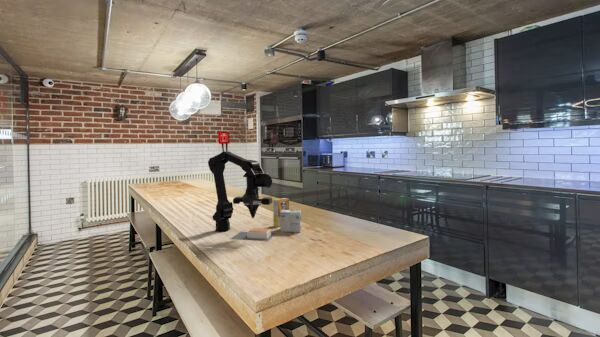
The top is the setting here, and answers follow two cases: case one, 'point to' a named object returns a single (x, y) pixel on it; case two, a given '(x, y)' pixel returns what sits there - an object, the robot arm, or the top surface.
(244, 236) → the rubber mat
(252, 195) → the robot arm
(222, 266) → the top surface
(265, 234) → the ivory tile
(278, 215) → the candy box
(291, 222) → the light bulb box
